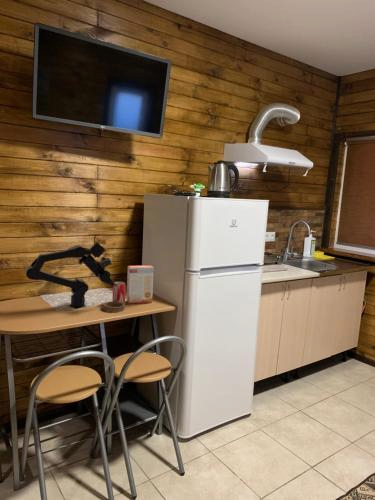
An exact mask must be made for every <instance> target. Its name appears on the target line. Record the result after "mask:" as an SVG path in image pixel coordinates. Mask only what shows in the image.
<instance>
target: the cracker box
mask: <svg viewBox="0 0 375 500" xmlns="http://www.w3.org/2000/svg"><path fill="white" fill-rule="evenodd" d="M154 269H155V268H154V266H153V265H127V279H126V302H127V304H143V303H144V304H146V303H148V304H149V303H153V290H154V272H155V271H154Z"/></svg>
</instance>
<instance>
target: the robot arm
mask: <svg viewBox="0 0 375 500" xmlns="http://www.w3.org/2000/svg"><path fill="white" fill-rule="evenodd" d="M106 251H107V249H105V248H104V246H102V245H101V244H100V243H99V242H97V241H95V242H94V243H93V245H92V246H91V247H90V248H89V247H84V246H81V245H80V244H77V245H74V246H71V247H69V248H68V249H64V250H58V251H53V252H47V253H39V254H38V255H37V257H36V258H35V259H34V260H33V261H32V262H31V264H30V265H28V266H26V267H25V270H24V274H25V276H26V278H28V279H29V280H33V281H46V282H47V283H52V284H55V285H59V286H64V287H67V288H70V292H71V296H70V304H69V305H68V307H71V308H73V309H80V308H85V307H87V305H86V296H85V295H86V293H87V292H88V291H89V285H88V283H86V281H85V280H84V279H83V278H78V277H75V278H74V279H71V278H66V277H62V276H59V275H55V274H54V273H53V274H52V273H49V272H46V271H44V270H42V268H43V266H44V264H45V263H46V262H52V261H53V262H54V261H58V260H62V259H69V258H71V259H76V258H77V260H78V261H77V264H78V265H82V264H84V265H85V266H86V267H87V269H89V270H90V271H91V273H92V275H94V276H96V278H98V280H99V281H101V283H104V284H106V285H109V286H112V287H113V286H114V284H115V282H114V281H113V280H112V277H111V275H112V273H111V272H110V271H109V270H108V269H106V267H108V266H112V264H113V263H112V261H111V259H110V257H105V256H103V257H102V255H103V254H104V253H105V252H106ZM100 257H101V258H100ZM96 258H100V261H98V260H96Z"/></svg>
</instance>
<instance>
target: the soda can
mask: <svg viewBox="0 0 375 500" xmlns="http://www.w3.org/2000/svg"><path fill="white" fill-rule="evenodd" d="M126 297H127V284H126V283H125V281H114V286H112V302H113V301H116V302H122V303H124V304H125V303H126Z"/></svg>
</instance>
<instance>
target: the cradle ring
mask: <svg viewBox="0 0 375 500" xmlns="http://www.w3.org/2000/svg"><path fill="white" fill-rule="evenodd" d="M112 306H113V307H112ZM102 308H103V311H105V312H108V313H121V312H124V311H125V310H126V304H125V303H122V302H116V301H113V300H112V301H105V302H104V303H103V307H102Z"/></svg>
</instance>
